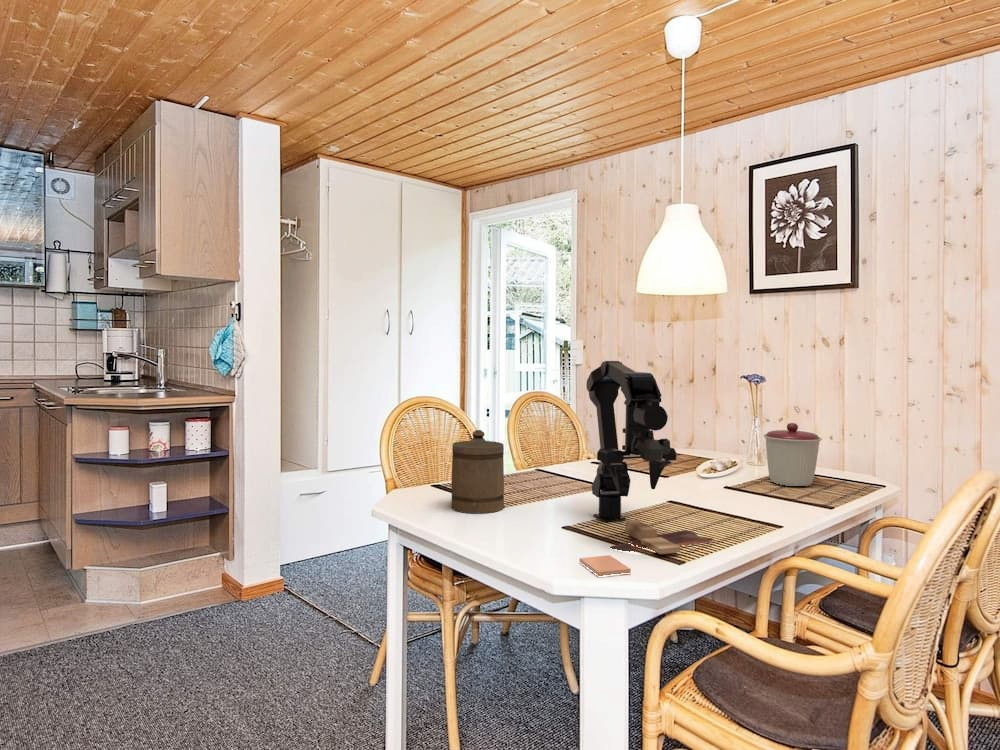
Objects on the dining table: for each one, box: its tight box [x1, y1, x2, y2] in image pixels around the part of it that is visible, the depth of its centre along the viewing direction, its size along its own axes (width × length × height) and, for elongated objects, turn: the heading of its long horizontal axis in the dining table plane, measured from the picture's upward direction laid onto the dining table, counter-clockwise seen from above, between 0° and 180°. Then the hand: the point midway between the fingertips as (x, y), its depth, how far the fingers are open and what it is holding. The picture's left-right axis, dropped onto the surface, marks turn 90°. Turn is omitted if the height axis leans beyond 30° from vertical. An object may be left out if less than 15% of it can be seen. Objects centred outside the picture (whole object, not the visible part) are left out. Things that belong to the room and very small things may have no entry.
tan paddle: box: [625, 519, 681, 555], centre depth 148 cm, size 17×5×3 cm, turn 18°
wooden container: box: [451, 429, 505, 514], centre depth 183 cm, size 15×15×22 cm
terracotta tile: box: [579, 554, 632, 576], centre depth 132 cm, size 2×7×9 cm
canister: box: [763, 422, 823, 487], centre depth 220 cm, size 18×18×21 cm
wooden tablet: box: [609, 529, 715, 552], centre depth 150 cm, size 26×2×10 cm
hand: (636, 490), depth 155 cm, fingers open, 9 cm apart
